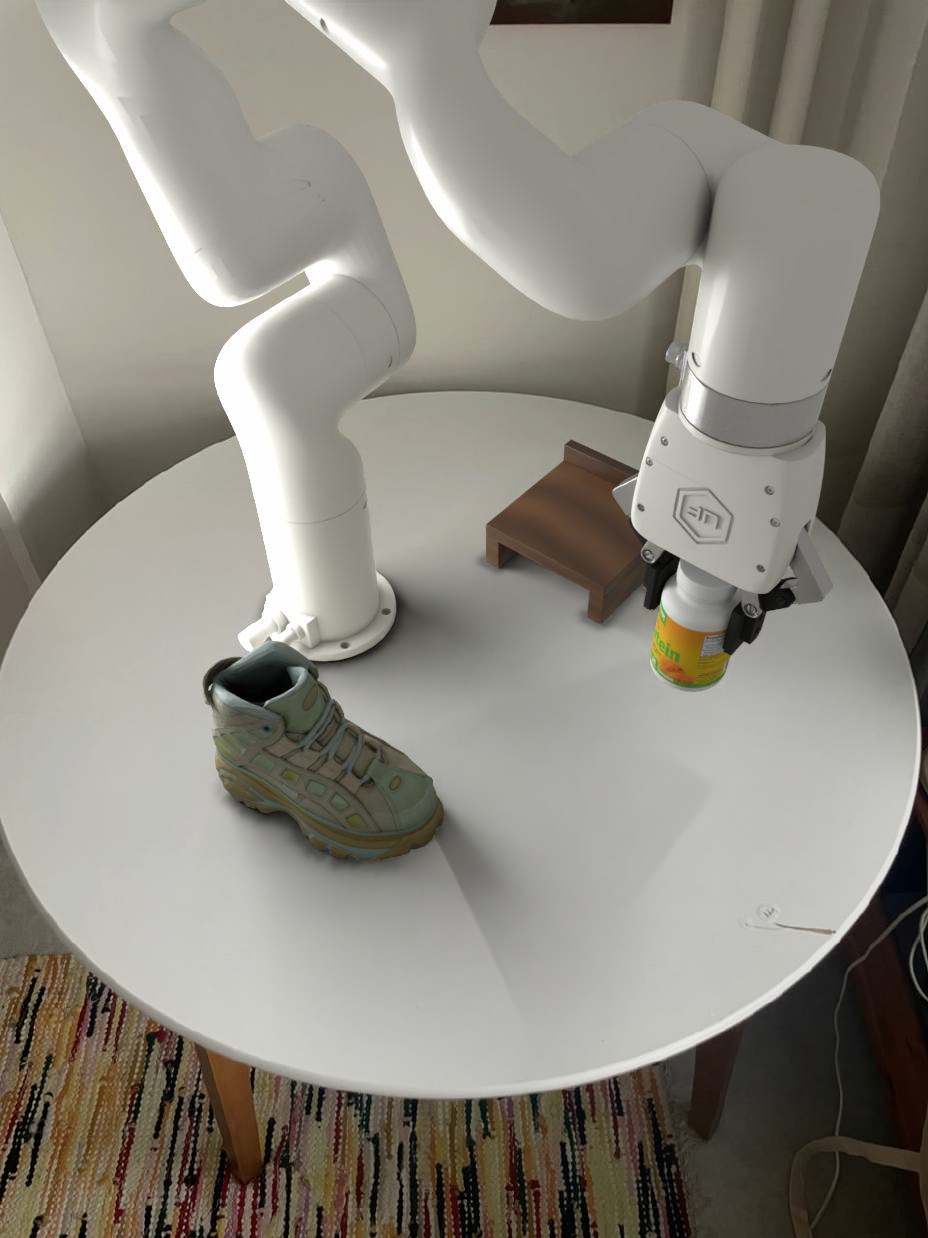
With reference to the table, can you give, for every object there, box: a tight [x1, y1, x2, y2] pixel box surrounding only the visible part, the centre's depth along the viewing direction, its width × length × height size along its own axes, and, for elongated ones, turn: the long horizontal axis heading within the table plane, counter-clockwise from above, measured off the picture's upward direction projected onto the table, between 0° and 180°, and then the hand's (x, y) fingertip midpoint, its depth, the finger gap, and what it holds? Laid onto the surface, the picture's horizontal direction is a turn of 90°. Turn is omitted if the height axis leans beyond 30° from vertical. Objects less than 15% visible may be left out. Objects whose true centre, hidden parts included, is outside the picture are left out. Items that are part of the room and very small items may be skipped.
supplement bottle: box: [649, 558, 741, 693], centre depth 69 cm, size 5×5×10 cm
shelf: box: [485, 439, 647, 625], centre depth 101 cm, size 14×14×7 cm
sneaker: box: [201, 639, 445, 862], centre depth 79 cm, size 11×19×15 cm, turn 53°
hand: (698, 617), depth 69 cm, fingers closed on supplement bottle, 5 cm apart
